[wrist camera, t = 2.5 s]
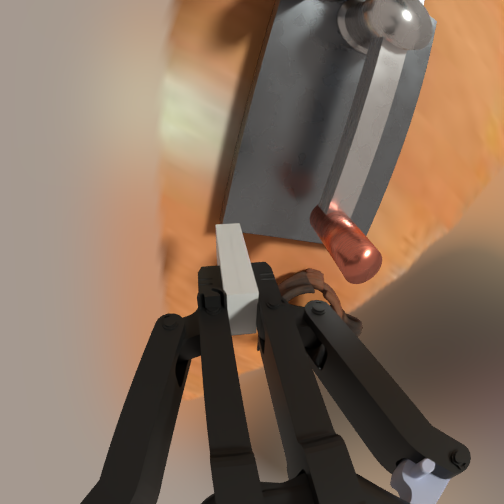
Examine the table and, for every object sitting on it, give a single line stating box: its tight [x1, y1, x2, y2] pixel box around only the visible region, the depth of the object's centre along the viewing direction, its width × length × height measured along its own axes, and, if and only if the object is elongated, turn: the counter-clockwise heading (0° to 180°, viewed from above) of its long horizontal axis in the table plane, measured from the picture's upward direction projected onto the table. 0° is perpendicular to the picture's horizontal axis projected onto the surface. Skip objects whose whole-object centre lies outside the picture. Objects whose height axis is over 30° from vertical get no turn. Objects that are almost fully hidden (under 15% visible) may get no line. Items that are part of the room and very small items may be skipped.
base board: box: [220, 0, 437, 244], centre depth 19 cm, size 25×14×7 cm, turn 166°
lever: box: [310, 0, 433, 284], centre depth 15 cm, size 22×4×9 cm, turn 166°
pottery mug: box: [278, 269, 363, 337], centre depth 31 cm, size 12×10×8 cm
